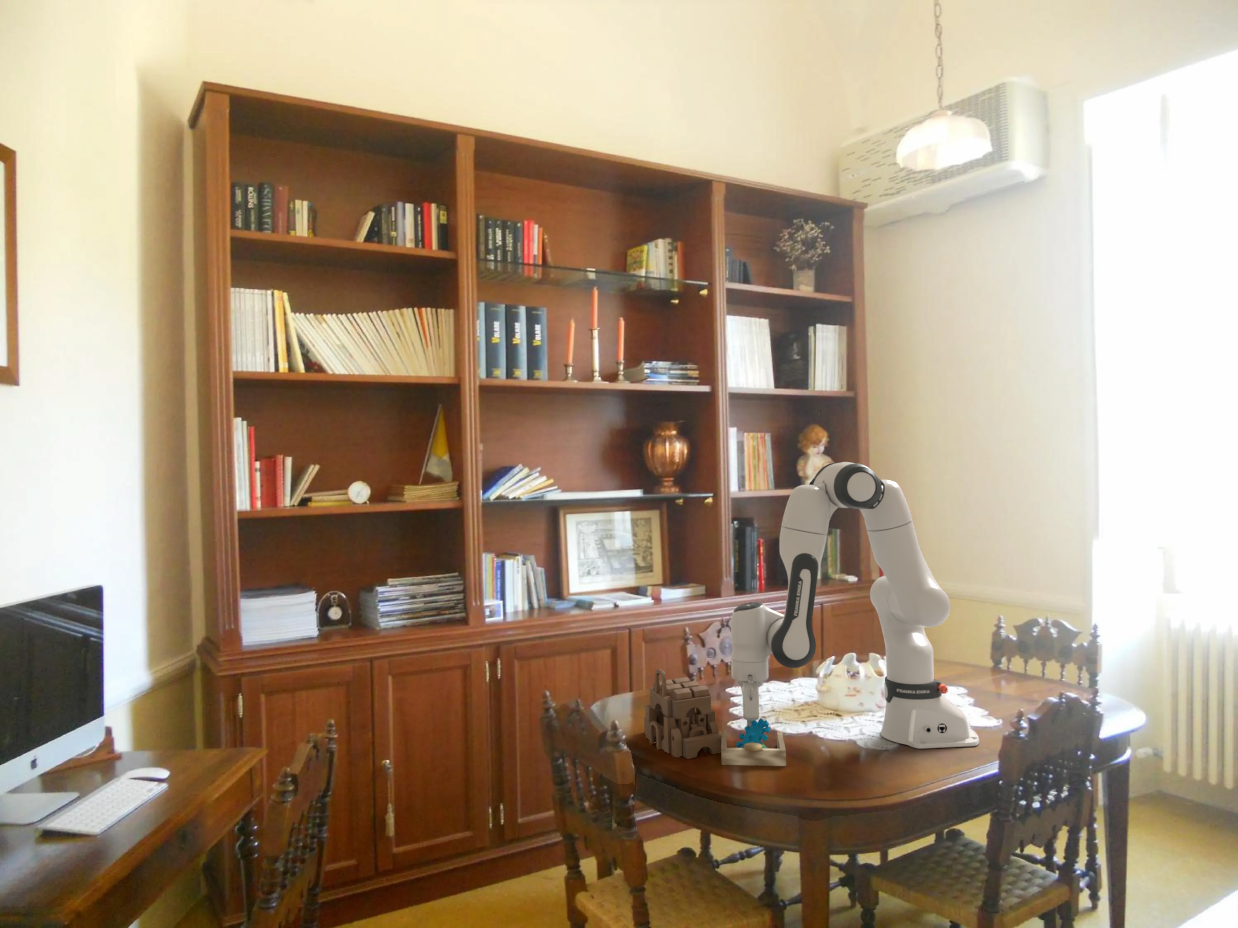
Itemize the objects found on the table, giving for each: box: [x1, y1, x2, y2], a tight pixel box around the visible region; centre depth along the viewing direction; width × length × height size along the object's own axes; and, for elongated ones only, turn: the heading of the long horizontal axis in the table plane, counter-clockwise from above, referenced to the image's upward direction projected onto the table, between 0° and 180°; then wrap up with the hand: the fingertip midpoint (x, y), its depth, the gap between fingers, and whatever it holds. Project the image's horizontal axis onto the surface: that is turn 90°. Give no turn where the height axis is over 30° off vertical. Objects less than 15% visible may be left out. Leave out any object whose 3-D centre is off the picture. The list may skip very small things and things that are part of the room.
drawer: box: [720, 730, 787, 767], centre depth 202 cm, size 14×15×4 cm
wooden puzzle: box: [643, 668, 722, 760], centre depth 213 cm, size 22×15×19 cm, turn 24°
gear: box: [735, 717, 771, 748], centre depth 204 cm, size 11×6×10 cm
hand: (750, 727), depth 211 cm, fingers closed
